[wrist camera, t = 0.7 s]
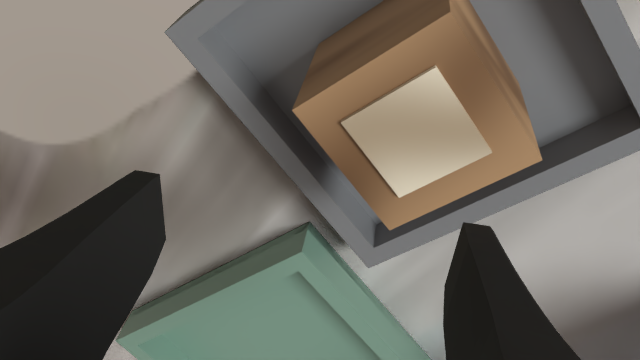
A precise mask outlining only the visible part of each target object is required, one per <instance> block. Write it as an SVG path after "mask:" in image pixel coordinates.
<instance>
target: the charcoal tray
mask: <svg viewBox="0 0 640 360" xmlns="http://www.w3.org/2000/svg"><path fill="white" fill-rule="evenodd" d="M382 1H384V0H200V1H199V2H197V3H196V4H195V5H193V6H192V7H191V8H190V9H188V10H187V11H186V12H185V13H184V14H183V15H182V16H181V17H179V19H177V21H175V22H174V23H173V24H172V25H171V26H170V27H169V28H168V29H167V30H166V31H165V33H166V35H167V36H168V37H169V38H170V39H171V40H172V42H173V43H174V44H175V45H176V46H177V47H178V48H179V50H180V51H181V52H182V53H183V54H184V55H185V57H186V58H187V59H188V60H189V61H190V62H191V64H192V65H193V66H194V67H195V68H196V69H197V70H198V72H199V73H200V74H201V75H202V76H203V77H204V79H205V80H206V81H207V82H208V83H209V84H210V86H211V87H212V88H213V89H214V90H215V91H216V92H217V94H218V95H219V96H220V97H221V98H222V99H223V101H224V102H225V103H226V104H227V105H228V106H229V108H230V109H231V110H232V111H233V112H234V113H235V115H236V116H237V117H238V118H239V119H240V120H241V121H242V123H243V124H244V125H245V126H246V127H247V128H248V130H249V131H250V132H251V133H252V134H253V135H254V137H255V138H256V139H257V140H258V141H259V142H260V143H261V145H262V146H263V147H264V148H265V149H266V150H267V152H268V153H269V154H270V155H271V156H272V157H273V159H274V160H275V161H276V162H277V163H278V164H279V165H280V167H281V168H282V169H283V170H284V171H285V172H286V174H287V175H288V176H289V177H290V178H291V179H292V181H293V182H294V183H295V184H296V185H297V186H298V187H299V189H300V190H301V191H302V192H303V193H304V194H305V196H306V197H307V198H308V199H309V200H310V201H311V203H312V204H313V205H314V206H315V207H316V208H317V209H318V211H319V212H320V213H321V214H322V215H323V216H324V218H325V219H326V220H327V221H328V222H329V223H330V225H331V226H332V227H333V228H334V229H335V230H336V231H337V233H338V234H339V235H340V236H341V237H342V238H343V240H344V241H345V242H346V243H347V244H348V245H349V247H350V248H351V249H352V250H353V251H354V252H355V253H356V255H357V256H358V257H359V258H360V259H361V260H362V262H363V263H364V264H365V265H366V266H367V267H368V268H370V267H372V266H375V265H377V264H379V263H382V262H384V261H386V260H389V259H391V258H393V257H395V256H398V255H400V254H402V253H405V252H407V251H409V250H412V249H414V248H416V247H418V246H421V245H423V244H425V243H428V242H430V241H432V240H435V239H437V238H439V237H441V236H444V235H446V234H448V233H451V232H453V231H455V230H458V229H460V228H462V224H463V222H466V223H474V222H476V221H478V220H481V219H483V218H485V217H488V216H490V215H492V214H494V213H497V212H499V211H501V210H504V209H506V208H508V207H511V206H513V205H515V204H517V203H520V202H522V201H524V200H527V199H529V198H531V197H534V196H536V195H538V194H541V193H543V192H545V191H547V190H550V189H552V188H554V187H557V186H559V185H561V184H564V183H566V182H568V181H570V180H573V179H575V178H577V177H580V176H582V175H584V174H587V173H589V172H591V171H593V170H596V169H598V168H600V167H603V166H605V165H607V164H610V163H612V162H614V161H617V160H619V159H621V158H623V157H626V156H628V155H630V154H633V153H635V152H637V151H640V49H639V47H638V45H637V43H636V41H635V39H634V37H633V34H632V32H631V30H630V28H629V26H628V24H627V22H626V20H625V18H624V16H623V14H622V12H621V10H620V7H619V5H618V3H617V1H616V0H469V1H470V2H471V4H472V6H473V7H474V9H475V11H476V12H477V14H478V16H479V17H480V19H481V21H482V22H483V24H484V26H485V27H486V29H487V31H488V32H489V34H490V36H491V37H492V39H493V41H494V42H495V44H496V46H497V47H498V49H499V51H500V52H501V54H502V56H503V58H504V59H505V61H506V63H507V64H508V66H509V68H510V69H511V71H512V73H513V74H514V76H515V78H516V79H517V81H518V83H519V85H520V89H521V92H522V95H523V98H524V102H525V105H526V108H527V111H528V115H529V118H530V121H531V124H532V128H533V131H534V134H535V137H536V141H537V144H538V147H539V150H540V154H541V157H542V161H540V162H538V163H535V164H533V165H531V166H529V167H527V168H524V169H522V170H520V171H518V172H516V173H514V174H511V175H509V176H507V177H505V178H503V179H501V180H498V181H496V182H494V183H492V184H490V185H488V186H485V187H483V188H481V189H479V190H477V191H474V192H472V193H470V194H468V195H466V196H464V197H461V198H459V199H457V200H455V201H453V202H451V203H448V204H446V205H444V206H442V207H440V208H437V209H435V210H433V211H431V212H429V213H427V214H424V215H422V216H420V217H418V218H416V219H414V220H411V221H409V222H407V223H405V224H403V225H401V226H398V227H396V228H394V229H392V230H390V231H389V229H388V228H387V227H386V226H385V224H384V223H383V222H382V221H381V220H380V218H379V217H378V216H377V215H376V213H375V212H374V211H373V210H372V208H371V207H370V206H369V205H368V203H367V202H366V201H365V200H364V199H363V197H362V196H361V195H360V194H359V192H358V191H357V190H356V189H355V187H354V186H353V185H352V184H351V183H350V181H349V180H348V179H347V178H346V176H345V175H344V174H343V173H342V171H341V170H340V169H339V168H338V166H337V165H336V164H335V163H334V162H333V160H332V159H331V158H330V157H329V155H328V154H327V153H326V152H325V150H324V149H323V148H322V147H321V146H320V144H319V143H318V142H317V141H316V139H315V138H314V137H313V136H312V134H311V133H310V132H309V131H308V130H307V128H306V127H305V126H304V125H303V123H302V122H301V121H300V120H299V118H298V117H297V116H296V115H295V113H294V112H293V111H292V109H293V106H294V104H295V101H296V99H297V96H298V94H299V91H300V89H301V86H302V84H303V82H304V79H305V77H306V74H307V72H308V69H309V67H310V64H311V62H312V59H313V57H314V54H315V52H316V49H317V47H318V44H319V43H321V42H322V41H324V40H325V39H327V38H328V37H330V36H331V35H333V34H334V33H336V32H337V31H339V30H340V29H342V28H343V27H345V26H346V25H348V24H349V23H351V22H352V21H354V20H355V19H357V18H358V17H360V16H361V15H363V14H364V13H366V12H367V11H369V10H370V9H372V8H373V7H375V6H376V5H378V4H379V3H381V2H382Z"/></svg>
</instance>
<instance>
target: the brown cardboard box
mask: <svg viewBox="0 0 640 360" xmlns="http://www.w3.org/2000/svg"><path fill="white" fill-rule="evenodd" d="M292 111H293V112H294V113H295V115H296V116H297V117H298V118H299V120H300V121H301V122H302V123H303V125H304V126H305V127H306V128H307V130H308V131H309V132H310V133H311V134H312V136H313V137H314V138H315V139H316V141H317V142H318V143H319V144H320V146H321V147H322V148H323V149H324V150H325V152H326V153H327V154H328V155H329V157H330V158H331V159H332V160H333V162H334V163H335V164H336V165H337V166H338V168H339V169H340V170H341V171H342V173H343V174H344V175H345V176H346V178H347V179H348V180H349V181H350V183H351V184H352V185H353V186H354V187H355V189H356V190H357V191H358V192H359V194H360V195H361V196H362V197H363V199H364V200H365V201H366V202H367V203H368V205H369V206H370V207H371V208H372V210H373V211H374V212H375V213H376V215H377V216H378V217H379V218H380V220H381V221H382V222H383V223H384V224H385V226H386V227H387V228H388V229H389V231H390V230H392V229H394V228H396V227H398V226H401V225H403V224H405V223H407V222H409V221H411V220H414V219H416V218H418V217H420V216H422V215H424V214H427V213H429V212H431V211H433V210H435V209H437V208H440V207H442V206H444V205H446V204H448V203H451V202H453V201H455V200H457V199H459V198H461V197H464V196H466V195H468V194H470V193H472V192H474V191H477V190H479V189H481V188H483V187H485V186H488V185H490V184H492V183H494V182H496V181H498V180H501V179H503V178H505V177H507V176H509V175H511V174H514V173H516V172H518V171H520V170H522V169H524V168H527V167H529V166H531V165H533V164H535V163H538V162H540V161H542V157H541V154H540V150H539V147H538V144H537V141H536V137H535V134H534V131H533V128H532V124H531V121H530V118H529V115H528V111H527V108H526V105H525V102H524V98H523V95H522V92H521V89H520V85H519V83H518V81H517V79H516V78H515V76H514V74H513V73H512V71H511V69H510V68H509V66H508V64H507V63H506V61H505V59H504V58H503V56H502V54H501V52H500V51H499V49H498V47H497V46H496V44H495V42H494V41H493V39H492V37H491V36H490V34H489V32H488V31H487V29H486V27H485V26H484V24H483V22H482V21H481V19H480V17H479V16H478V14H477V12H476V11H475V9H474V7H473V6H472V4H471V2H470V1H469V0H384V1H382V2H381V3H379V4H378V5H376V6H375V7H373V8H372V9H370V10H369V11H367V12H366V13H364V14H363V15H361V16H360V17H358V18H357V19H355V20H354V21H352V22H351V23H349V24H348V25H346V26H345V27H343V28H342V29H340V30H339V31H337V32H336V33H334V34H333V35H331V36H330V37H328V38H327V39H325V40H324V41H322V42H321V43H319V44H318V47H317V49H316V52H315V54H314V57H313V59H312V62H311V64H310V67H309V69H308V72H307V74H306V77H305V79H304V82H303V84H302V86H301V89H300V91H299V94H298V96H297V99H296V101H295V104H294V106H293V109H292Z"/></svg>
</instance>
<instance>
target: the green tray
mask: <svg viewBox="0 0 640 360" xmlns="http://www.w3.org/2000/svg"><path fill="white" fill-rule="evenodd" d="M116 342H118V343H119V344H120V345H121V346H122V347H124V348H125V349H126V350H127V351H128V352H130V353H131V354H132V355H133V356H134V357H136V358H137V359H138V360H431V359H430V358H429V357H428V355H427V354H426V353H425V352H424V351H423V350H422V349H421V348H420V346H419V345H418V344H417V343H416V342H415V341H414V340H413V338H412V337H411V336H410V335H409V334H408V333H407V332H406V331H405V329H404V328H403V327H402V326H401V325H400V324H399V323H398V321H397V320H396V319H395V318H394V317H393V316H392V315H391V313H390V312H389V311H388V310H387V309H386V308H385V307H384V306H383V304H382V303H381V302H380V301H379V300H378V299H377V298H376V296H375V295H374V294H373V293H372V292H371V291H370V290H369V289H368V287H367V286H366V285H365V284H364V283H363V282H362V281H361V279H360V278H359V277H358V276H357V275H356V274H355V273H354V272H353V270H352V269H351V268H350V267H349V266H348V265H347V264H346V262H345V261H344V260H343V259H342V258H341V257H340V256H339V255H338V253H337V252H336V251H335V250H334V249H333V248H332V247H331V245H330V244H329V243H328V242H327V241H326V240H325V239H324V237H323V236H322V235H321V234H320V233H319V232H318V231H317V230H316V228H315V227H314V226H313V225H312V224H311V223H310V222H308V223H306V224H304V225H302V226H300V227H298V228H296V229H294V230H292V231H290V232H288V233H286V234H284V235H282V236H280V237H278V238H276V239H274V240H272V241H270V242H268V243H266V244H264V245H262V246H260V247H258V248H256V249H254V250H253V251H251V252H249V253H247V254H245V255H243V256H241V257H239V258H237V259H235V260H233V261H231V262H229V263H227V264H225V265H223V266H221V267H219V268H217V269H215V270H213V271H211V272H209V273H207V274H205V275H203V276H201V277H199V278H197V279H195V280H193V281H191V282H189V283H187V284H185V285H183V286H181V287H179V288H177V289H175V290H173V291H171V292H169V293H167V294H165V295H163V296H161V297H159V298H157V299H155V300H153V301H151V302H149V303H147V304H145V305H143V306H141V307H139V308H137V309H135V310H133V311H132V312H131V314H130V316H129V317H128V319H127V321H126V323H125V325H124V326H123V328H122V330H121V332H120V334H119V336H118V337H117V339H116Z"/></svg>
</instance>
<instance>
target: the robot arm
mask: <svg viewBox="0 0 640 360" xmlns="http://www.w3.org/2000/svg"><path fill="white" fill-rule="evenodd" d="M165 240H166V235H165V225H164V214H163V204H162V193H161V183H160V174H155V173H149V172H143V171H136V170H135V171H133V172H132V173H130V174H128V175H126V176H125V177H123V178H122V179H120V180H118V181H117V182H115V183H114V184H112V185H111V186H109V187H107V188H106V189H104V190H103V191H101V192H100V193H98V194H97V195H95V196H93V197H92V198H90V199H89V200H87V201H85V202H84V203H82V204H81V205H79V206H77V207H76V208H74V209H73V210H71V211H69V212H68V213H66V214H64V215H63V216H61V217H59V218H57V219H55V220H54V221H52V222H50V223H48V224H47V225H45V226H43V227H41V228H40V229H38V230H36V231H34V232H32V233H31V234H29V235H27V236H25V237H23V238H21V239H19V240H17V241H15V242H13V243H11V244H9V245H7V246H5V247H3V248H0V360H103V358H104V356H105V354H106V352H107V350H108V348H109V347H110V345H111V343H112V342H113V340H114V338H115V336H116V335H117V333H118V331H119V330H120V328H121V326H122V325H123V323H124V321H125V319H126V318H127V316H128V314H129V313H130V311H131V309H132V308H133V306H134V304H135V302H136V301H137V299H138V297H139V296H140V294H141V292H142V290H143V289H144V287H145V285H146V283H147V282H148V280H149V278H150V276H151V274H152V272H153V270H154V267H155V265H156V263H157V260H158V258H159V255H160V253H161V250H162V248H163V245H164V243H165ZM443 327H444V339H445V350H446V360H581V359H580V358H579V357H578V356H577V355H576V353H575V352H574V351H573V350H572V349H571V348H570V347H569V345H568V344H567V343H566V342H565V341H564V340H563V338H562V337H561V336H560V334H559V333H558V332H557V331H556V329H555V328H554V327H553V325H552V324H551V322H550V321H549V320H548V318H547V317H546V316H545V314H544V313H543V312H542V310H541V309H540V307H539V306H538V304H537V303H536V301H535V300H534V298H533V297H532V295H531V294H530V292H529V291H528V289H527V288H526V286H525V284H524V283H523V281H522V280H521V278H520V277H519V275H518V273H517V272H516V270H515V268H514V267H513V265H512V263H511V262H510V260H509V258H508V256H507V255H506V253H505V251H504V249H503V248H502V246H501V244H500V242H499V240H498V238H497V237H496V235H495V233H494V231H493V230H492V228H491V227H490V226H485V225H478V224H472V223H466V222H463V224H462V228H461V231H460V235H459V238H458V242H457V245H456V249H455V252H454V255H453V259H452V262H451V266H450V269H449V273H448V276H447V280H446V283H445V290H444V319H443Z"/></svg>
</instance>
